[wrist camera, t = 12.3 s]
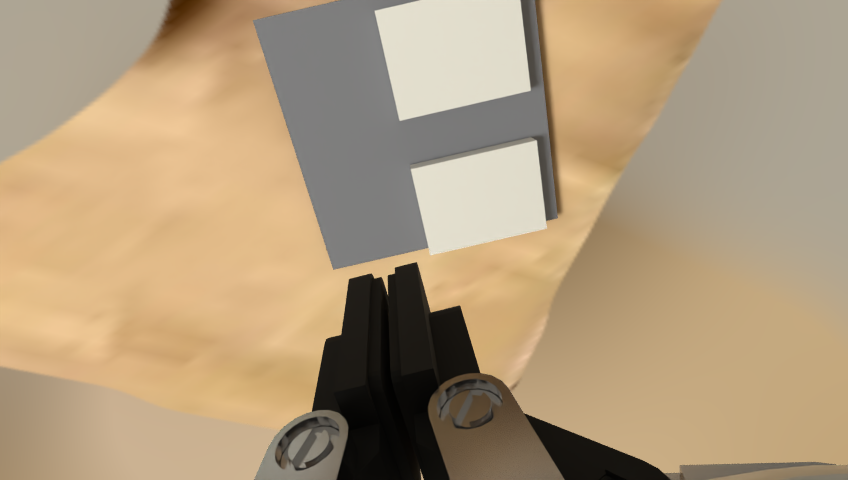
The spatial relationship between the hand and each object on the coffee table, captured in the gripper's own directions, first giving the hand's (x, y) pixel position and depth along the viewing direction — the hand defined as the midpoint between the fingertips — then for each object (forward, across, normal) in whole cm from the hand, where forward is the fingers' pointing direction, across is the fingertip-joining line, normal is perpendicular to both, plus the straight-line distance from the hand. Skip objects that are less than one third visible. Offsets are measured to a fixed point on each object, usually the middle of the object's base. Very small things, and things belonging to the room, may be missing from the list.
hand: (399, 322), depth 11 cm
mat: (+20, -2, -1) cm, 20 cm away
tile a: (+19, -1, -5) cm, 20 cm away
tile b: (+19, -1, +4) cm, 19 cm away
